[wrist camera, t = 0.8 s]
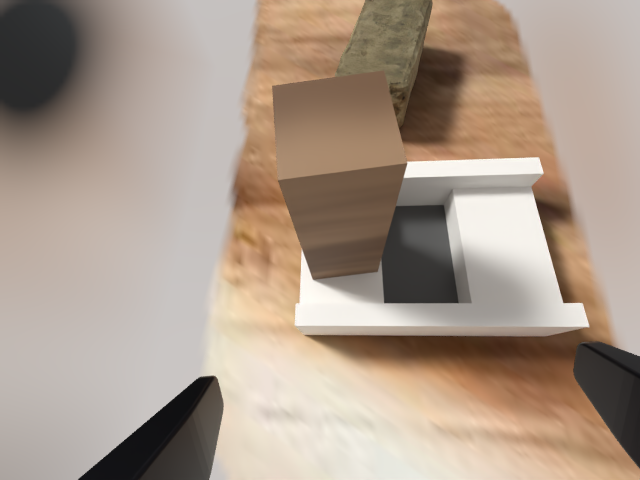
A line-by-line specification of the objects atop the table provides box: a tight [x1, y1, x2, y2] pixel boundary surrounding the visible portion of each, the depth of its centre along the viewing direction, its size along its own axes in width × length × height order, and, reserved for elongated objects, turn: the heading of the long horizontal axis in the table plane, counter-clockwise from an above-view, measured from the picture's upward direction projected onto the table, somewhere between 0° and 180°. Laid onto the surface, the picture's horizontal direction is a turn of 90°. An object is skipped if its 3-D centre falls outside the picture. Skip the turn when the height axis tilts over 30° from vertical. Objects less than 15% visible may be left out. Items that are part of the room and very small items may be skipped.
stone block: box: [335, 0, 432, 128], centre depth 27 cm, size 6×12×5 cm, turn 163°
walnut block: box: [272, 70, 407, 280], centre depth 16 cm, size 4×4×11 cm
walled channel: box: [295, 157, 589, 336], centre depth 21 cm, size 10×15×4 cm
